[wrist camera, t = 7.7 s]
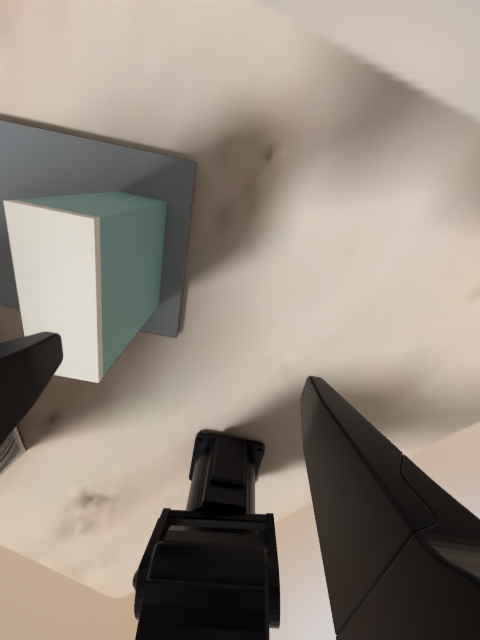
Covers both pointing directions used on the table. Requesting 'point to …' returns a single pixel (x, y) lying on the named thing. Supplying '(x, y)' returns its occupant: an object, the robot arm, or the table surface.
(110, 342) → the slab
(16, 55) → the table surface
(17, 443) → the protein powder
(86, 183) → the mat
